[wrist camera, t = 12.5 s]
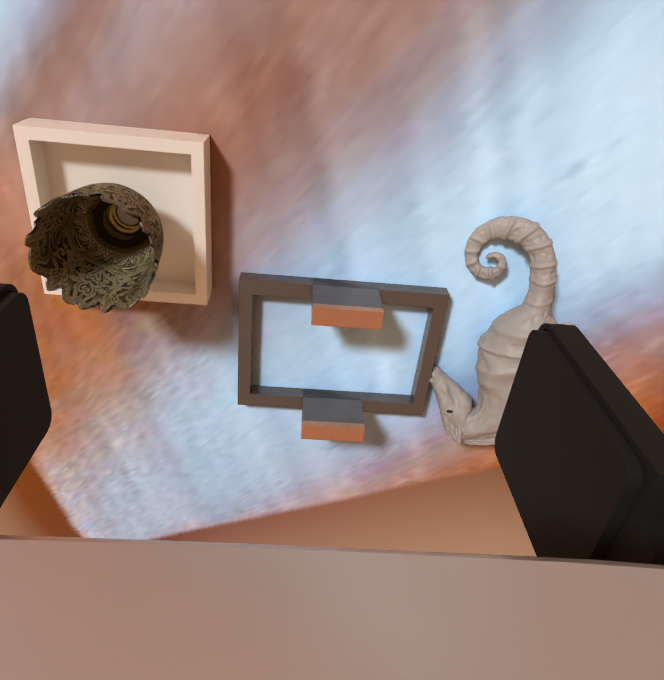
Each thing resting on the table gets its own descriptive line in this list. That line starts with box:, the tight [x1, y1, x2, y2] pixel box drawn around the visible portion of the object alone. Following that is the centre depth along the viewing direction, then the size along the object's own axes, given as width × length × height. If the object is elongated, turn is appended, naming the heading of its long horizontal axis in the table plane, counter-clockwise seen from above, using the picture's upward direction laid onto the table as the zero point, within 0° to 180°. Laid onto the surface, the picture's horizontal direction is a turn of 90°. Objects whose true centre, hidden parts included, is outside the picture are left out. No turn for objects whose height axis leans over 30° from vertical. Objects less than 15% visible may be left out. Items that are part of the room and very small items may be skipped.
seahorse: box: [430, 216, 574, 446], centre depth 44 cm, size 5×12×20 cm
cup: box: [25, 183, 164, 313], centre depth 36 cm, size 8×7×8 cm
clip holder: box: [238, 272, 449, 442], centre depth 44 cm, size 16×12×5 cm
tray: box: [13, 118, 212, 305], centre depth 39 cm, size 12×12×2 cm
